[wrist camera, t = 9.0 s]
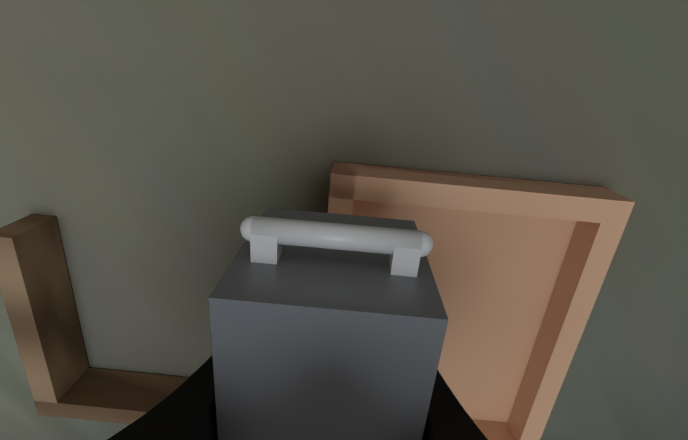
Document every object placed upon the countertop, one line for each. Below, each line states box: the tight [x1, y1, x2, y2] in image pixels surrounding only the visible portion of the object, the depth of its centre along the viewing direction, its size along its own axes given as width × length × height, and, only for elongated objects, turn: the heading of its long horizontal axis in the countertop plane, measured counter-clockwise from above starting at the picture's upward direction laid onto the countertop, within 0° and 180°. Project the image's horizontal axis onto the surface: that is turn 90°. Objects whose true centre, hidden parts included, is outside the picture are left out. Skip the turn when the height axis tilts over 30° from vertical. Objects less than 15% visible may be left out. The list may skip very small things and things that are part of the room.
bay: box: [0, 214, 189, 424], centre depth 19 cm, size 10×13×2 cm
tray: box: [328, 162, 635, 440], centre depth 19 cm, size 15×12×2 cm
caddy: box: [209, 208, 448, 440], centre depth 11 cm, size 10×5×5 cm, turn 175°
